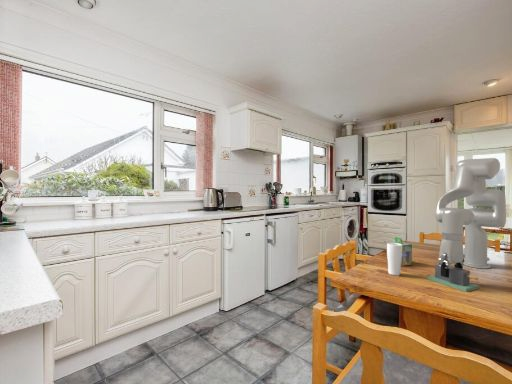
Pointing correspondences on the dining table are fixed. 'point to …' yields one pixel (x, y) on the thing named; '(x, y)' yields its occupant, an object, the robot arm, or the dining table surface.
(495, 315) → the dining table surface
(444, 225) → the robot arm
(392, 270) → the white cup
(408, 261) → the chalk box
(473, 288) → the header strip
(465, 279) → the block
